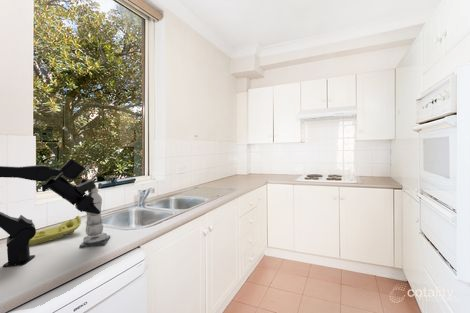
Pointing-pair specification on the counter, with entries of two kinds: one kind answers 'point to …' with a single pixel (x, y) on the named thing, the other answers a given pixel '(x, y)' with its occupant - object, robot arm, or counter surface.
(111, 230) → the counter surface
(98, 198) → the plastic bottle
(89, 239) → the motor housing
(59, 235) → the plastic component
